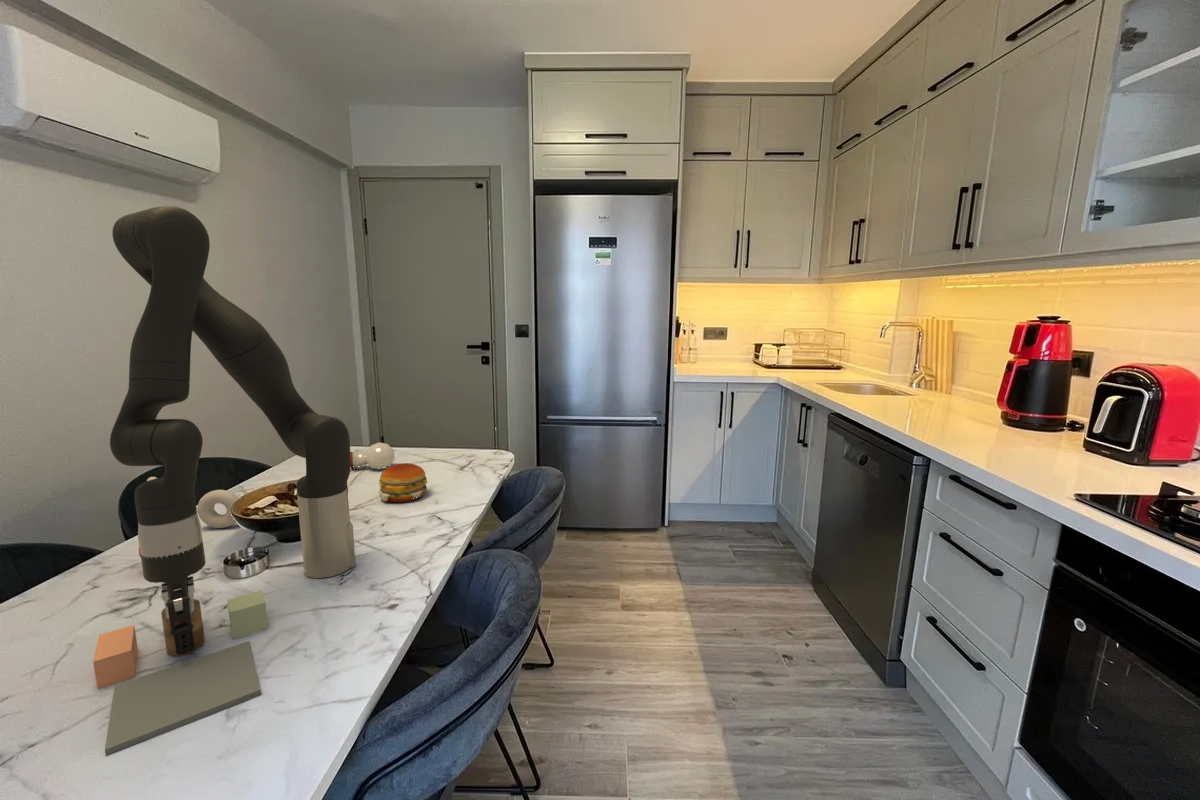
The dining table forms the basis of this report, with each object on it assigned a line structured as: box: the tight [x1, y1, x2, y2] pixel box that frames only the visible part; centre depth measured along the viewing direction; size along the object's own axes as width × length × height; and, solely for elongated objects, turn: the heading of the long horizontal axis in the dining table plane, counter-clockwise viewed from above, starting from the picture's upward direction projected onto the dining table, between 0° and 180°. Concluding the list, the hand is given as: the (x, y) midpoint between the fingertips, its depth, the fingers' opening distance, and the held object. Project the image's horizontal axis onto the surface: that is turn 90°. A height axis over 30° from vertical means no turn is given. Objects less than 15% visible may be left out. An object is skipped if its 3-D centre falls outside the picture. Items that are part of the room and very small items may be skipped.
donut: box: [197, 489, 240, 529], centre depth 126 cm, size 10×4×10 cm, turn 98°
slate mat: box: [104, 640, 262, 756], centre depth 72 cm, size 16×14×1 cm
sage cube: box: [226, 589, 269, 640], centre depth 87 cm, size 5×5×5 cm
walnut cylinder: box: [160, 598, 206, 658], centre depth 81 cm, size 5×5×7 cm
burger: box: [378, 462, 428, 503], centre depth 149 cm, size 14×14×10 cm
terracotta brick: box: [92, 624, 139, 690], centre depth 77 cm, size 8×4×4 cm, turn 40°
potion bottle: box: [350, 441, 396, 471], centre depth 176 cm, size 9×10×15 cm
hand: (185, 640), depth 82 cm, fingers open, 6 cm apart
